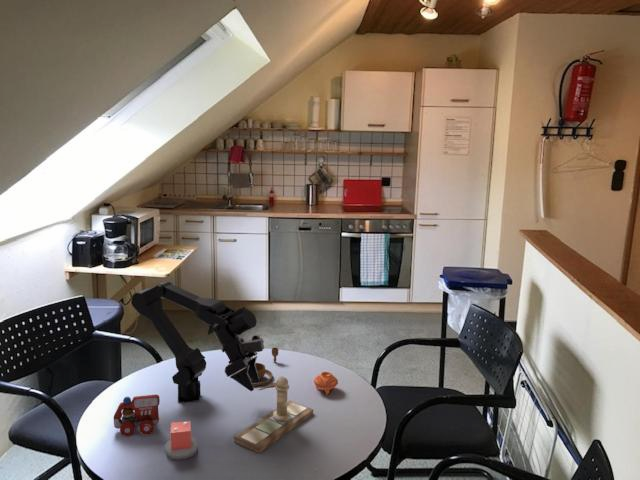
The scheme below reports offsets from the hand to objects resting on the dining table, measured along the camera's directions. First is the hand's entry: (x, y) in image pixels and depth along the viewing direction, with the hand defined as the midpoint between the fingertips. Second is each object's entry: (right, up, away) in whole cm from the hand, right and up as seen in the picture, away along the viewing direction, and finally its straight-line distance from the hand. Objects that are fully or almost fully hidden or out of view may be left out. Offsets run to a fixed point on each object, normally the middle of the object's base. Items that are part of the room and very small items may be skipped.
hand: (255, 386), depth 162 cm
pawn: (+8, -8, -3) cm, 12 cm away
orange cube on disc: (-18, -12, -17) cm, 28 cm away
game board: (+6, -10, -5) cm, 13 cm away
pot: (+21, -6, +17) cm, 28 cm away
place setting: (0, -4, +27) cm, 28 cm away
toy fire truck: (-32, -10, -8) cm, 35 cm away
